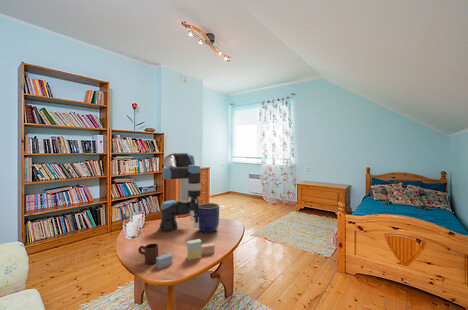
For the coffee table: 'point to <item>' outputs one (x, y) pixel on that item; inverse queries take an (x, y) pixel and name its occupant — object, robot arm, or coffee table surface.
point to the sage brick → (194, 245)
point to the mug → (149, 253)
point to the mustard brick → (194, 254)
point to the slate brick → (164, 260)
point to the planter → (208, 217)
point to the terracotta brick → (207, 248)
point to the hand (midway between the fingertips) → (194, 224)
